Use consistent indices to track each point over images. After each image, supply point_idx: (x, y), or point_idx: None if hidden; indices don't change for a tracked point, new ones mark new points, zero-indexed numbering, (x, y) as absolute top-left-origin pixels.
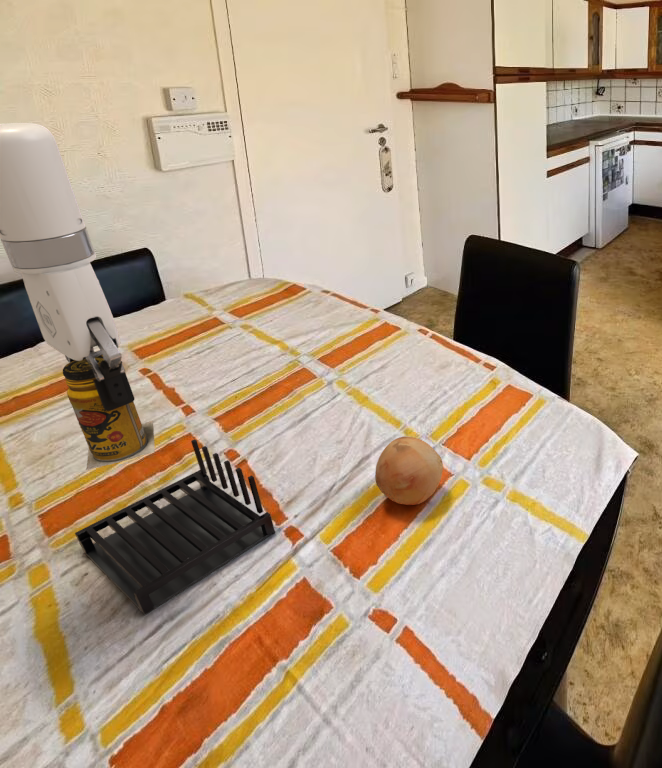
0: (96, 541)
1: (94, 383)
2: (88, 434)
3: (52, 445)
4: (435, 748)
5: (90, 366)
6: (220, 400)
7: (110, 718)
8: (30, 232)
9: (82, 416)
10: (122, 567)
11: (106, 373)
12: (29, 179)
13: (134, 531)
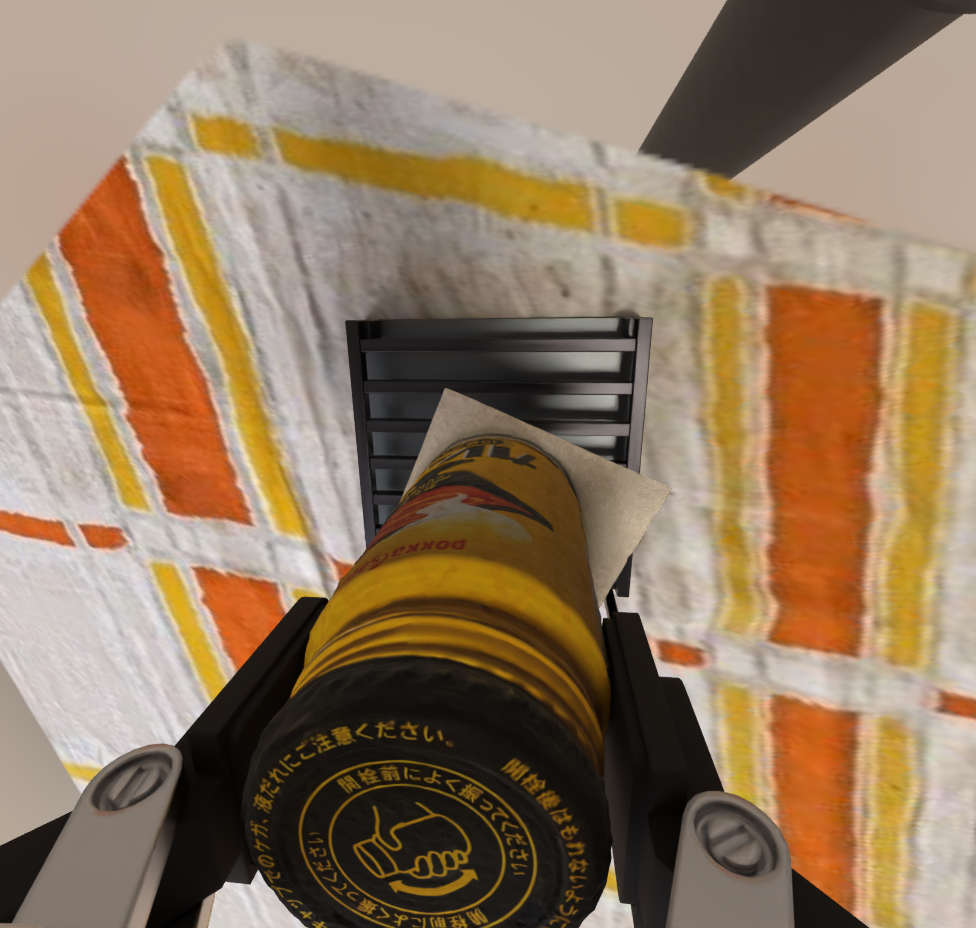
0: (579, 338)
1: (227, 714)
2: (448, 472)
3: None
4: None
5: (126, 864)
6: (922, 764)
7: (192, 184)
8: None
9: (416, 510)
10: (450, 338)
11: (12, 842)
12: None
13: (603, 411)
